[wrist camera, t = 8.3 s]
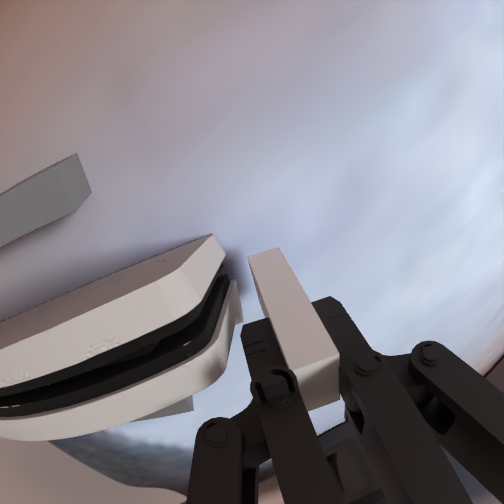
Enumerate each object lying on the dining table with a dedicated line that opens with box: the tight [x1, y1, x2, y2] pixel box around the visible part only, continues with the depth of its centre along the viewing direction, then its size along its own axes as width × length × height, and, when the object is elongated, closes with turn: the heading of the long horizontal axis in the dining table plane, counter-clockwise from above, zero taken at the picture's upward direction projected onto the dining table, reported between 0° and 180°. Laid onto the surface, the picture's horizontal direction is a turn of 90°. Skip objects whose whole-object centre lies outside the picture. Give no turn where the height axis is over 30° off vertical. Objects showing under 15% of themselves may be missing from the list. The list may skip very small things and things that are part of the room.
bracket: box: [0, 153, 194, 422], centre depth 14 cm, size 16×16×2 cm
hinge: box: [0, 234, 244, 441], centre depth 12 cm, size 17×5×10 cm, turn 107°
